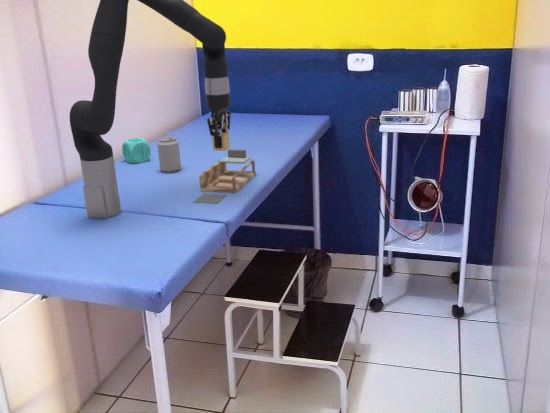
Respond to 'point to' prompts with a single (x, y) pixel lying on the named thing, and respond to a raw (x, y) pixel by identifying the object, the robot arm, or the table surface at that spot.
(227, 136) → the block
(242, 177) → the wooden rack
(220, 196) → the mat
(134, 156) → the decorative dice
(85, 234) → the table surface
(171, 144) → the can
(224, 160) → the lid
